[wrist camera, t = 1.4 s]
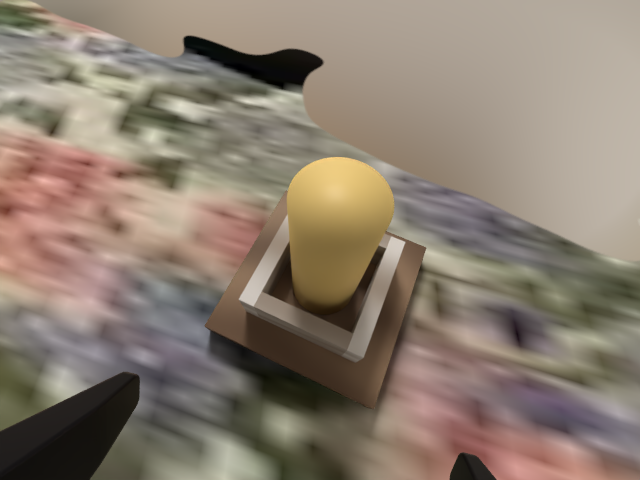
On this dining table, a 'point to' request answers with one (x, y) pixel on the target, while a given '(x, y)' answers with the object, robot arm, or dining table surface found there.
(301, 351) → the stand
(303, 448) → the dining table surface
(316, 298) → the post
